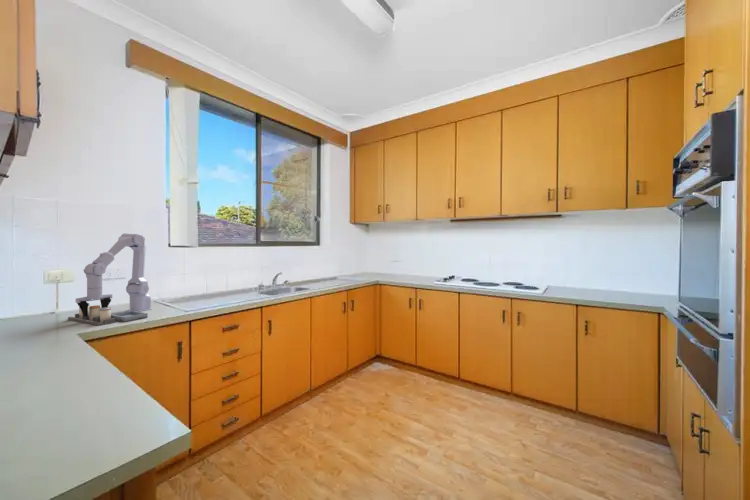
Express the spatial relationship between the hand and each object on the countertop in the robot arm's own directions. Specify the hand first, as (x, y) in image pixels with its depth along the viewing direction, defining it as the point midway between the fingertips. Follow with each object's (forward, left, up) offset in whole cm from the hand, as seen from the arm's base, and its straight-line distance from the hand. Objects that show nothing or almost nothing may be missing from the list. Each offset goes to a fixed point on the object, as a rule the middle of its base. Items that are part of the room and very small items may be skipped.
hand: (94, 314), depth 161 cm
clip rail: (0, 0, -3) cm, 3 cm away
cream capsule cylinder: (0, -9, -3) cm, 9 cm away
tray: (-10, +10, -3) cm, 14 cm away
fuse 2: (0, +9, -3) cm, 9 cm away
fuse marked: (0, 0, -3) cm, 3 cm away
